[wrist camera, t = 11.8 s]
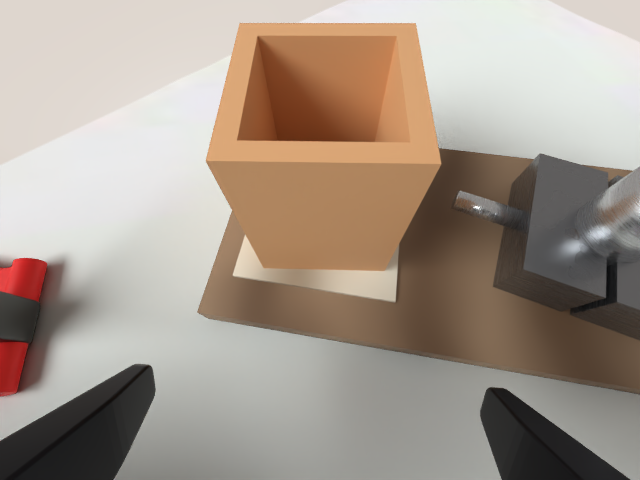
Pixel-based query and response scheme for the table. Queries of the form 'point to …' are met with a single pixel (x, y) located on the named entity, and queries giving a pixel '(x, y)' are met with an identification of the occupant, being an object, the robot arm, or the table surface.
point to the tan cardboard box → (325, 141)
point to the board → (428, 292)
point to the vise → (569, 241)
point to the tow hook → (18, 317)
